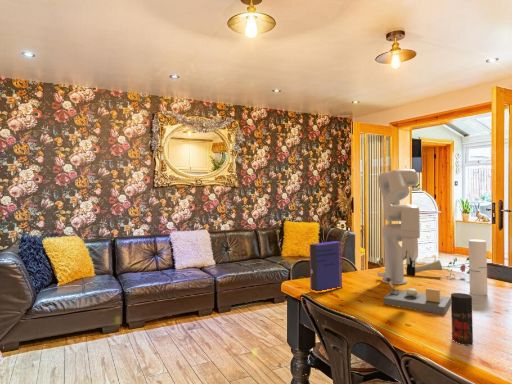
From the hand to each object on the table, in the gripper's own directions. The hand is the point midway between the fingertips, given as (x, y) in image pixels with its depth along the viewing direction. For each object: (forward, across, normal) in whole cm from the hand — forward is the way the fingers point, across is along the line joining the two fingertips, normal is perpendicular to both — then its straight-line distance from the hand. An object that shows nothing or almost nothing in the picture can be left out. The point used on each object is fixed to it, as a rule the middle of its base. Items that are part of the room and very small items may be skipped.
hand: (411, 275), depth 156 cm
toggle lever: (+8, +1, -7) cm, 11 cm away
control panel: (+12, +1, +2) cm, 12 cm away
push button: (+8, +1, 0) cm, 8 cm away
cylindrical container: (+13, -33, +22) cm, 42 cm away
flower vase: (+14, -58, +1) cm, 60 cm away
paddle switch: (+9, +4, +9) cm, 14 cm away
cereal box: (+13, +1, -40) cm, 43 cm away
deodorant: (+11, +33, +24) cm, 42 cm away
